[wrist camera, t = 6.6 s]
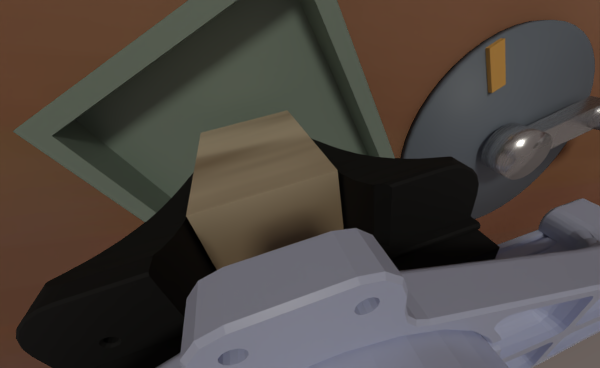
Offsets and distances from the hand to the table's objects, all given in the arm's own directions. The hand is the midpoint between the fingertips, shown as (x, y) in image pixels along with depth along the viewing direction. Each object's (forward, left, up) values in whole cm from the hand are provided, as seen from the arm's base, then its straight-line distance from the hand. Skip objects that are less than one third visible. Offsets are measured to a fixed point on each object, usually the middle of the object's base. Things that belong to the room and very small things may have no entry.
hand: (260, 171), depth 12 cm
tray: (0, 0, -4) cm, 4 cm away
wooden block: (0, 0, -1) cm, 1 cm away
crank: (-12, -18, -3) cm, 22 cm away
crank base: (-11, -15, -4) cm, 19 cm away
